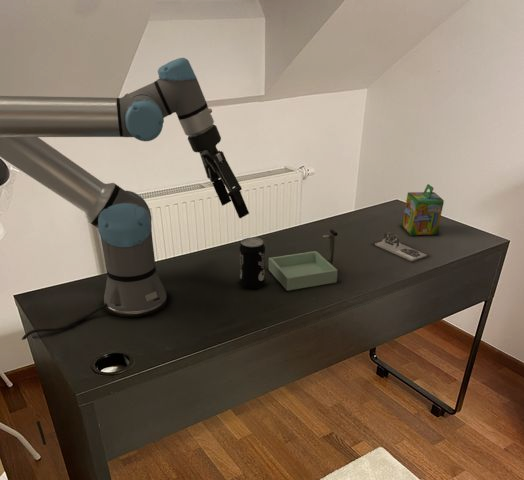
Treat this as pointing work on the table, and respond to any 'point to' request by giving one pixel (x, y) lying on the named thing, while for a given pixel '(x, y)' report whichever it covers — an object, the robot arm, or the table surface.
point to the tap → (331, 245)
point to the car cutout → (399, 247)
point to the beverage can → (252, 262)
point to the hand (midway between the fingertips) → (235, 209)
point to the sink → (302, 270)
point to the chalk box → (422, 212)
